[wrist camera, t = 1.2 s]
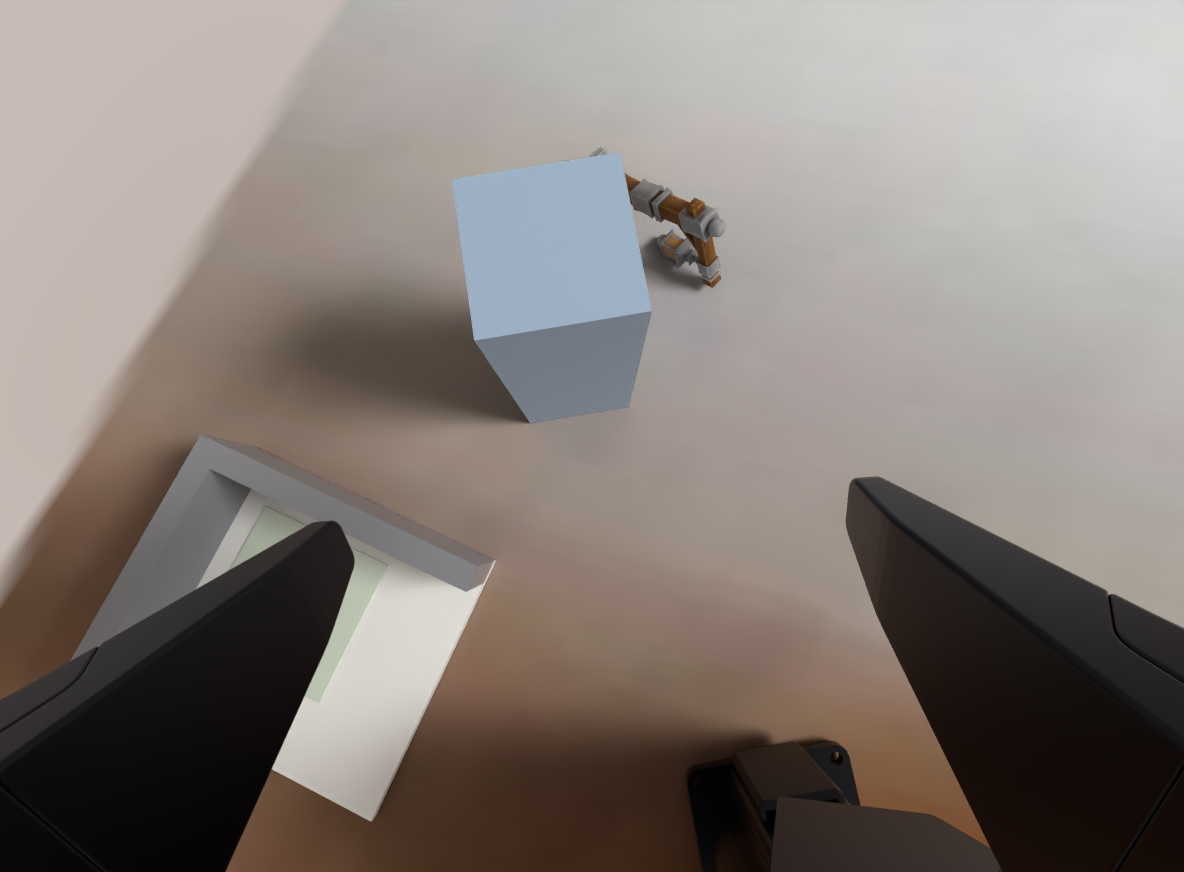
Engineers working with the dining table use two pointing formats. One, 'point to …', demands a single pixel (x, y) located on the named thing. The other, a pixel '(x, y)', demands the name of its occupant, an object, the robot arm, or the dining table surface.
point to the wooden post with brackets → (680, 225)
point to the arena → (364, 624)
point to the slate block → (556, 283)
